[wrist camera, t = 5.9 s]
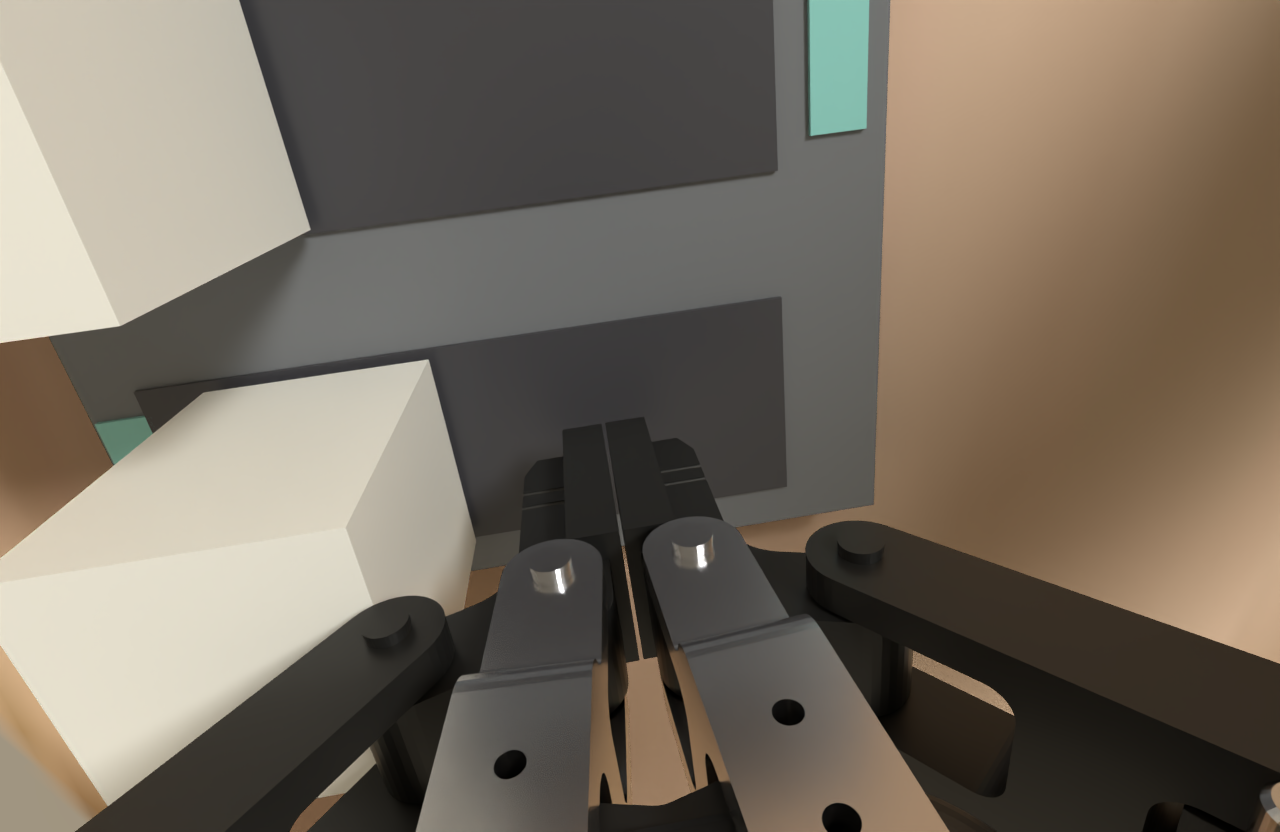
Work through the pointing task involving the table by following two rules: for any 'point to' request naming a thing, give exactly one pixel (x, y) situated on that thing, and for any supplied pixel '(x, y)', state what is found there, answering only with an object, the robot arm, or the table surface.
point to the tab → (232, 559)
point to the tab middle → (131, 159)
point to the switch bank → (561, 239)
